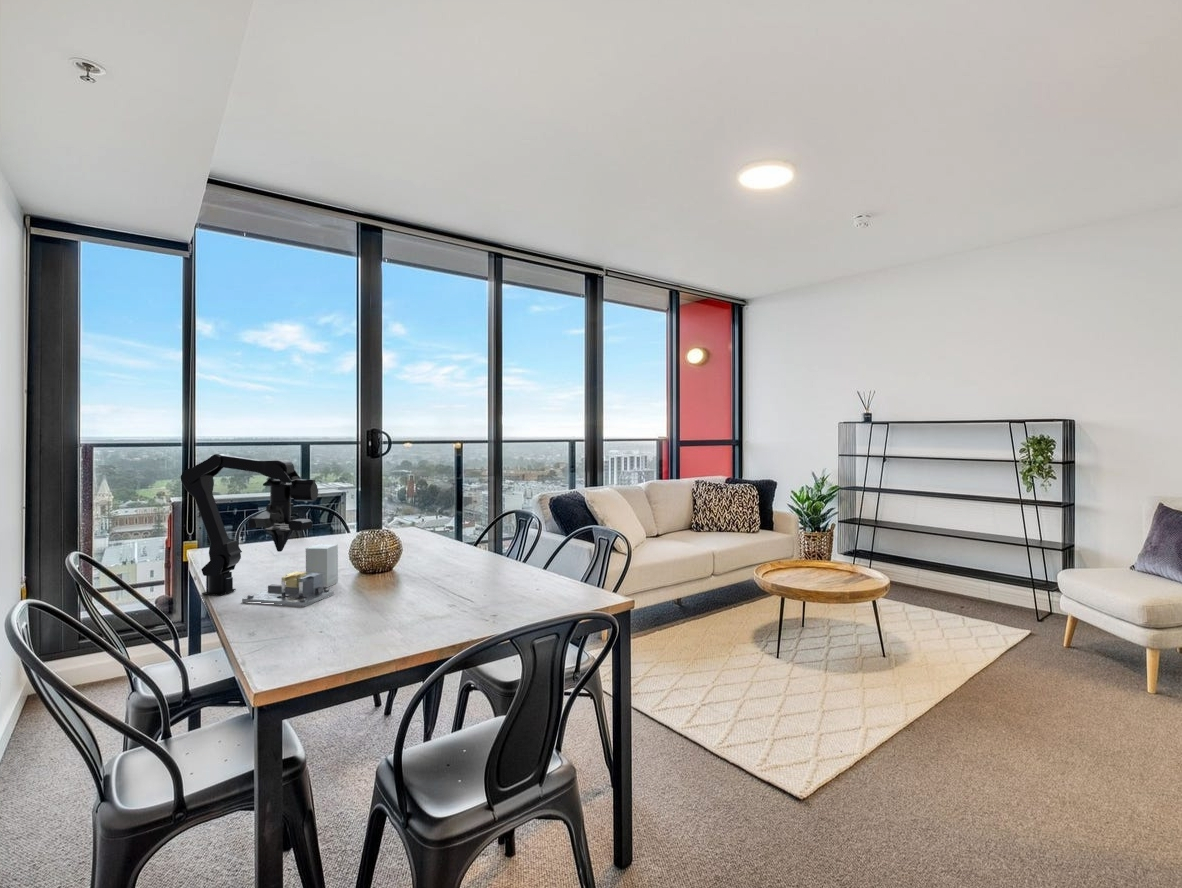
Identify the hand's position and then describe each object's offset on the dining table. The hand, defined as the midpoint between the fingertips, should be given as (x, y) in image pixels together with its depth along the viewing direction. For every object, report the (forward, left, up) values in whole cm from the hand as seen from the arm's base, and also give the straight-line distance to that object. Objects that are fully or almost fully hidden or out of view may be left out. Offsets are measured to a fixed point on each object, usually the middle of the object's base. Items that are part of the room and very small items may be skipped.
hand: (279, 551), depth 186 cm
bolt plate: (+7, -5, -13) cm, 16 cm away
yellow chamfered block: (+8, -5, -11) cm, 14 cm away
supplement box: (+6, +12, -13) cm, 19 cm away
